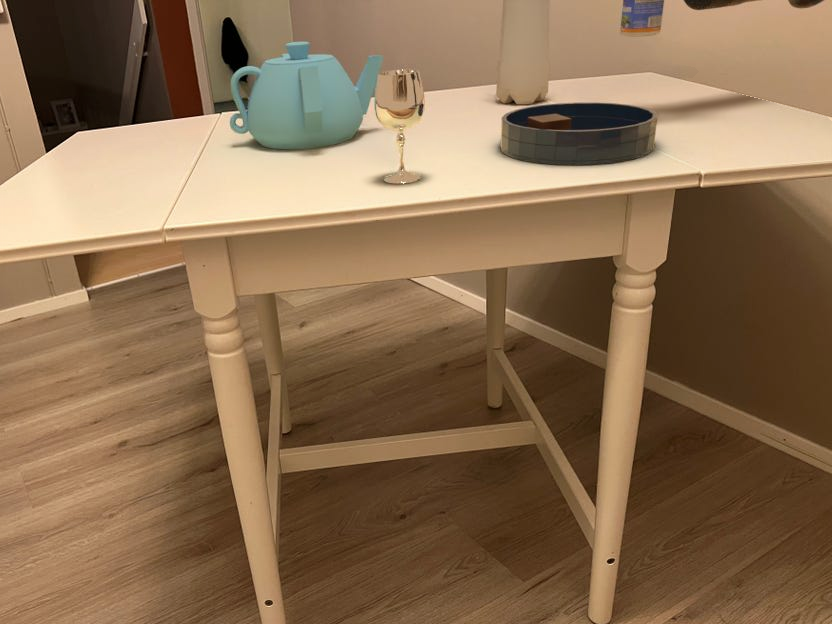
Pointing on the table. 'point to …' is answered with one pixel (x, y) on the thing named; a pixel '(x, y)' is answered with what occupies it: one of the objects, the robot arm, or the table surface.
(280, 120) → the teapot
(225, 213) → the table surface
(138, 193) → the table surface
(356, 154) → the table surface
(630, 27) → the pill bottle
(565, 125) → the block
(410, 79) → the wineglass
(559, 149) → the bowl
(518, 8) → the bottle
